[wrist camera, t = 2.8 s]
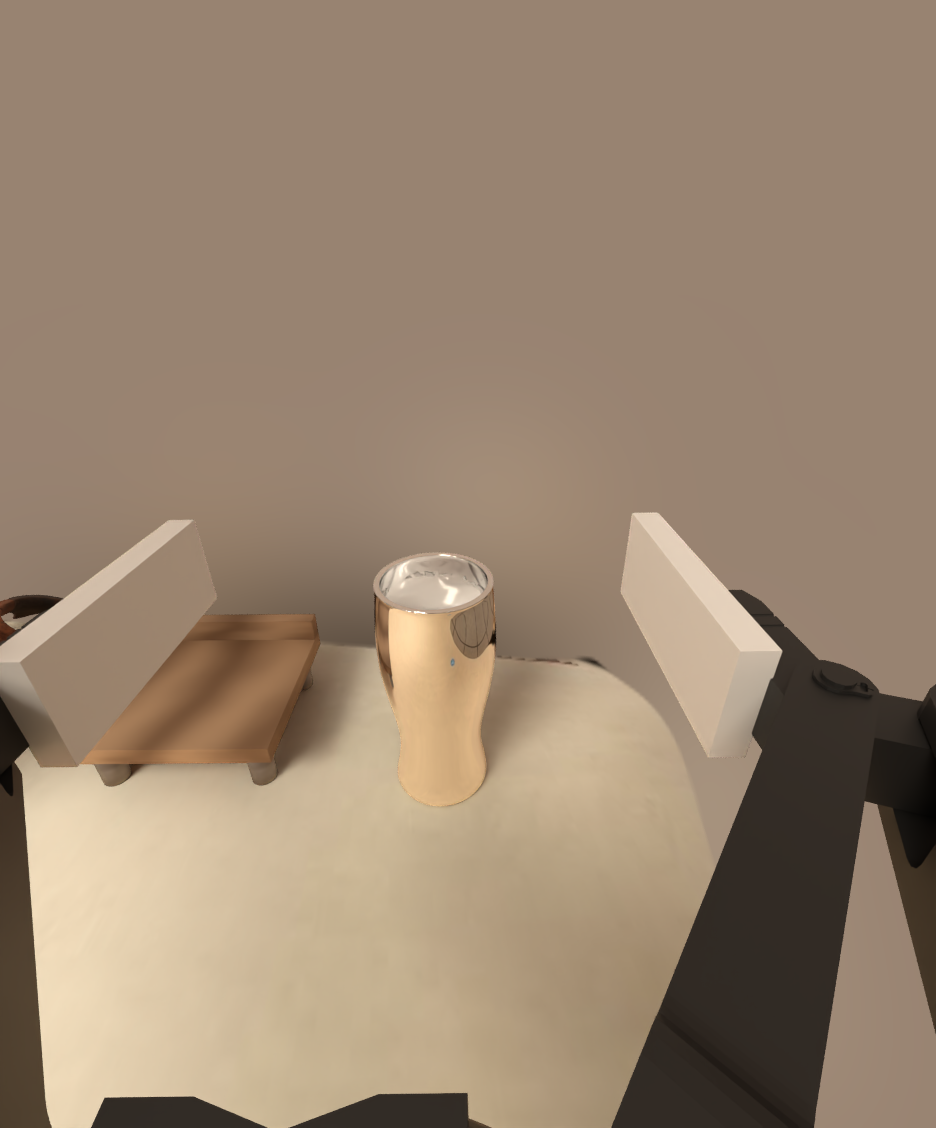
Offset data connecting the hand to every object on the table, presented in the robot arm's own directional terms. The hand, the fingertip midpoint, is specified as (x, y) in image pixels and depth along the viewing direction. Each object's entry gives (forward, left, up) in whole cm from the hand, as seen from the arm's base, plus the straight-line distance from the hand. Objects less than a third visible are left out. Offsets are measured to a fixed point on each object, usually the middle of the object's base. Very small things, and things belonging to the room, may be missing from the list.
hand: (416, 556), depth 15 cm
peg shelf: (-17, +14, -22) cm, 31 cm away
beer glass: (0, +10, -22) cm, 24 cm away
